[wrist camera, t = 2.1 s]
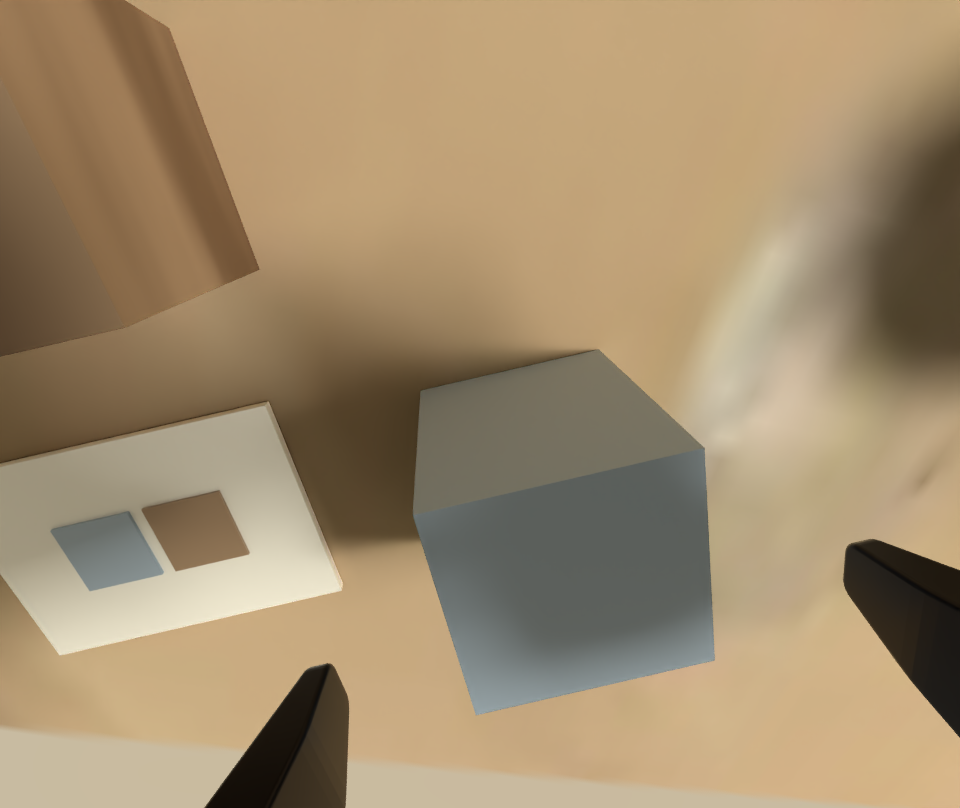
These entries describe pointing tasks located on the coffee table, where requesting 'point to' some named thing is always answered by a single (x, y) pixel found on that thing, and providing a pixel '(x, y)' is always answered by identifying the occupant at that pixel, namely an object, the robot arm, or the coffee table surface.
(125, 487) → the page
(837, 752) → the coffee table surface
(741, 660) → the coffee table surface
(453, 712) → the coffee table surface
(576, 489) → the slate brick
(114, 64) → the walnut brick
